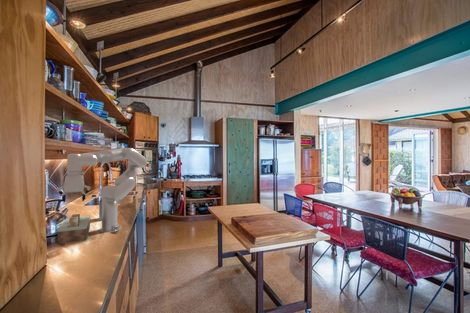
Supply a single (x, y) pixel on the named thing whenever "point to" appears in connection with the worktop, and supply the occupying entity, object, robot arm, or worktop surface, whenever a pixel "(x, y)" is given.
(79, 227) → the lid
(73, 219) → the block
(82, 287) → the worktop surface
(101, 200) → the coffee box
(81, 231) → the brown open box
